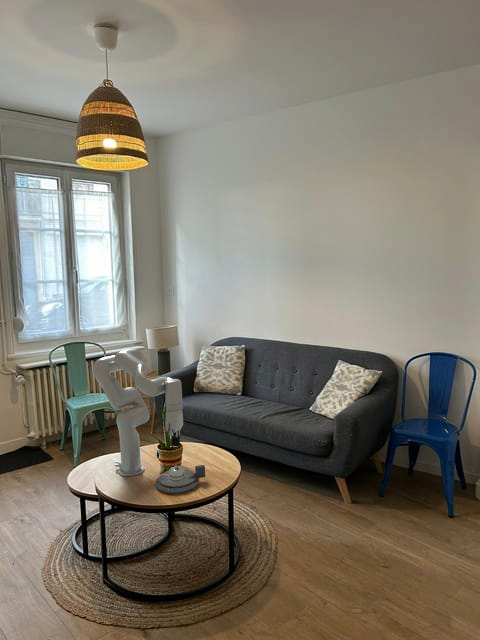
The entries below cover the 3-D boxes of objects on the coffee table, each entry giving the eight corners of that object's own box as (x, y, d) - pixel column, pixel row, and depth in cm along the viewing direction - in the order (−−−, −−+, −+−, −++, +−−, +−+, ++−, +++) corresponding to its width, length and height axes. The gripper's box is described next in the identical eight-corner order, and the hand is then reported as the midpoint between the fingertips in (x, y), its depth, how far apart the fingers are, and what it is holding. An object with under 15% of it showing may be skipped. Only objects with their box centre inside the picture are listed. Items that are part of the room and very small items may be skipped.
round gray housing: (152, 485, 217) (152, 474, 216) (169, 470, 233) (168, 460, 232) (193, 490, 211) (193, 479, 210) (207, 474, 227) (207, 464, 226)
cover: (165, 479, 219) (165, 471, 218) (173, 473, 226) (173, 464, 226) (180, 481, 216) (180, 473, 216) (188, 474, 223) (187, 466, 223)
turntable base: (148, 491, 216) (148, 486, 216) (167, 473, 235) (167, 468, 235) (189, 496, 210) (188, 491, 210) (205, 477, 229) (205, 472, 229)
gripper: (173, 401, 227) (175, 438, 229) (159, 410, 213) (161, 450, 215) (188, 402, 225) (189, 439, 227) (174, 411, 210) (176, 451, 212)
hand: (176, 444), depth 221 cm, fingers closed
